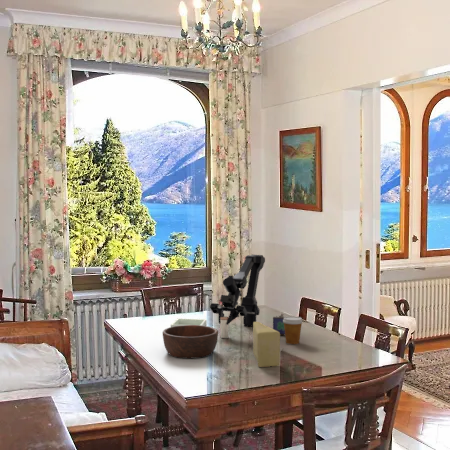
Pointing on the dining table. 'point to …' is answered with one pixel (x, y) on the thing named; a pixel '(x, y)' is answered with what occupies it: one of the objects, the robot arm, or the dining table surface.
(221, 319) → the jar
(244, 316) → the robot arm
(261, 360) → the cheese
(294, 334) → the disposable coffee cup
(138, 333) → the dining table surface
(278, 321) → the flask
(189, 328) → the wooden bowl
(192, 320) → the bin
